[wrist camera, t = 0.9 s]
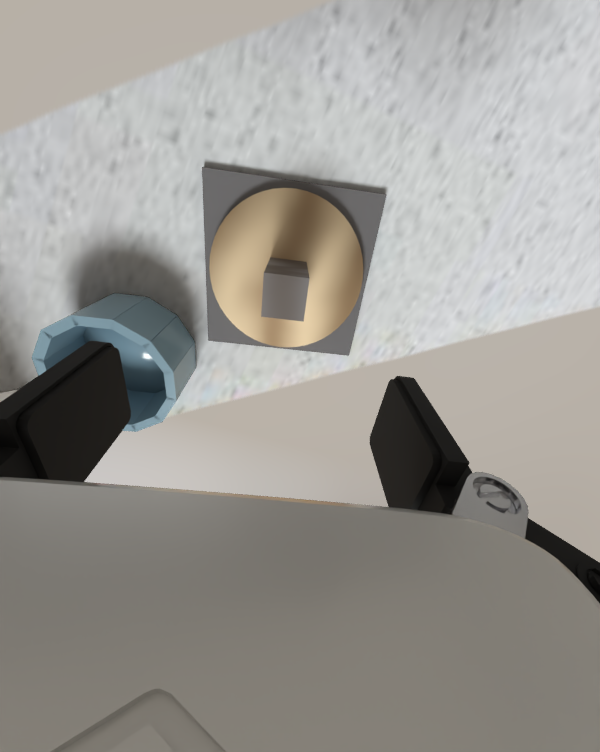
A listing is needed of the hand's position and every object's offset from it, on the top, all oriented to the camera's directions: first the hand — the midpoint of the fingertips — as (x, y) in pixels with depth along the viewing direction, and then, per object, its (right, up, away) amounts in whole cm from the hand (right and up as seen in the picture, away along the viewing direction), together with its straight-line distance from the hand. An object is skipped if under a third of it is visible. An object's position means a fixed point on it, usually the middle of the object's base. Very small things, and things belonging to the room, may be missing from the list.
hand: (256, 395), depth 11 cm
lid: (0, +9, +15) cm, 18 cm away
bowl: (-15, +3, +19) cm, 24 cm away
